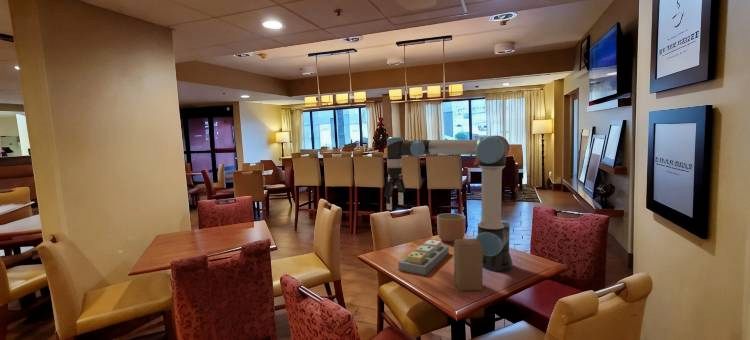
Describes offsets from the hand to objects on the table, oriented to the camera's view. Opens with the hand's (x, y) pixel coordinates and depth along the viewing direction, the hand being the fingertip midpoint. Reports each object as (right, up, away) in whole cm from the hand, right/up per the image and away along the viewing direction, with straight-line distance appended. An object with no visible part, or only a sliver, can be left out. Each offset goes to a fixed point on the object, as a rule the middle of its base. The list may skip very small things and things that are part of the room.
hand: (395, 207), depth 189 cm
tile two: (+15, -25, -2) cm, 29 cm away
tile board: (+15, -28, -2) cm, 32 cm away
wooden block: (+30, -31, -33) cm, 54 cm away
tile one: (+21, -24, +8) cm, 33 cm away
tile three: (+10, -26, -11) cm, 30 cm away
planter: (+36, -24, +32) cm, 54 cm away
